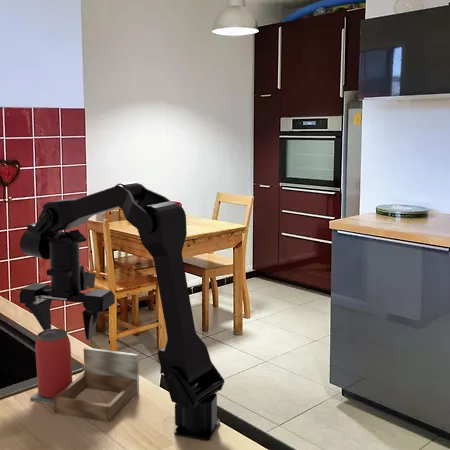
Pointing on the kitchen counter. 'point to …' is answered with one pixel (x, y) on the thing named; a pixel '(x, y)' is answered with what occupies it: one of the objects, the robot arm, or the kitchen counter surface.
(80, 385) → the drawer
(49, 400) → the plate
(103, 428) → the kitchen counter surface
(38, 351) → the beer can
